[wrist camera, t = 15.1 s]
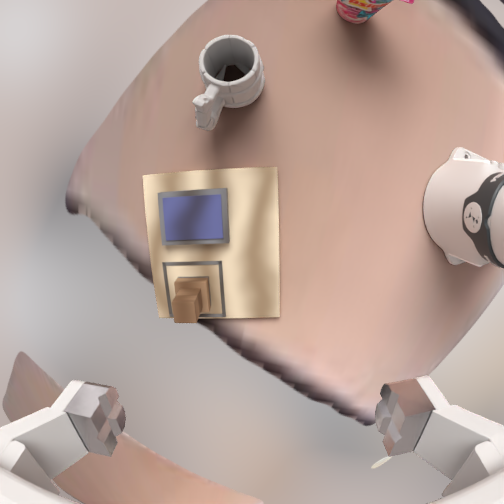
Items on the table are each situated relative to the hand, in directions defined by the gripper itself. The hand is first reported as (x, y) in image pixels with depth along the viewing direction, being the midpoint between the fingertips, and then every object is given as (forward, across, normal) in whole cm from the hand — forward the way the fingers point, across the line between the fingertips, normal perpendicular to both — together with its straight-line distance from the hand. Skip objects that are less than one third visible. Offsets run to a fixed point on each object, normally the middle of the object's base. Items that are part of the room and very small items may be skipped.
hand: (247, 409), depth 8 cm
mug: (+34, +3, -17) cm, 38 cm away
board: (+34, +6, +3) cm, 35 cm away
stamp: (+33, +9, +10) cm, 36 cm away
